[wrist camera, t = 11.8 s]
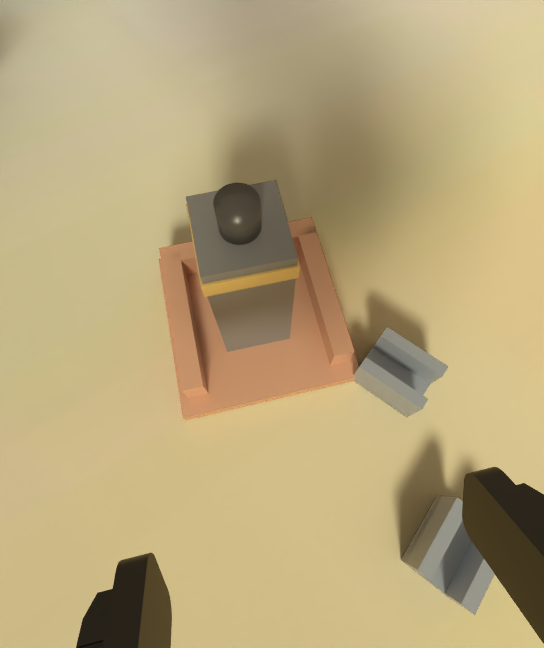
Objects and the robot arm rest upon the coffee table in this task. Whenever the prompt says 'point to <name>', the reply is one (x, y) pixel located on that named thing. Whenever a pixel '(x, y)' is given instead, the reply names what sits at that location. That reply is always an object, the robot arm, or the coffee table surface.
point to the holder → (263, 360)
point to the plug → (245, 261)
